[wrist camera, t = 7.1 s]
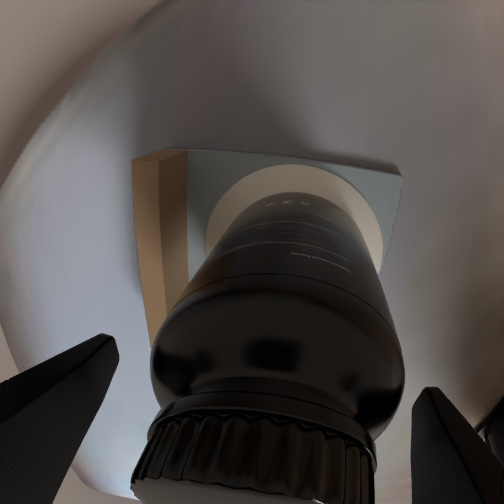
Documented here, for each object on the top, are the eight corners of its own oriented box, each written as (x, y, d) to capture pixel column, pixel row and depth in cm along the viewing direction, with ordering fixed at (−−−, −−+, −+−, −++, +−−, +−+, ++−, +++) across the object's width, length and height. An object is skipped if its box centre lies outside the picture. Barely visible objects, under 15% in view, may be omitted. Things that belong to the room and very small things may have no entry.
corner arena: (351, 356, 18) (354, 401, 15) (176, 328, 19) (154, 365, 16) (400, 174, 13) (425, 194, 10) (168, 148, 14) (131, 160, 11)
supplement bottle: (363, 314, 16) (381, 552, 5) (236, 316, 17) (152, 528, 6) (368, 183, 13) (500, 443, 2) (214, 191, 14) (13, 395, 4)
